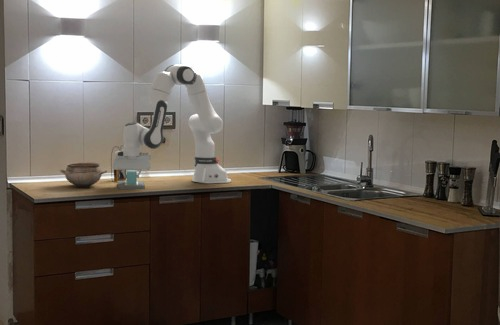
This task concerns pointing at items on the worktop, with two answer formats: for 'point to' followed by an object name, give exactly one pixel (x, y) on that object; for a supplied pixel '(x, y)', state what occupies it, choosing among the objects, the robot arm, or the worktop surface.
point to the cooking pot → (83, 173)
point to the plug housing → (131, 177)
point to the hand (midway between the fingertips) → (131, 177)
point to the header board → (131, 185)
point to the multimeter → (118, 173)
